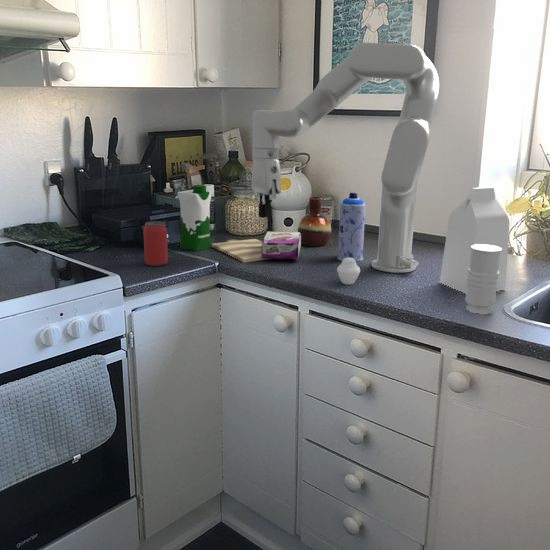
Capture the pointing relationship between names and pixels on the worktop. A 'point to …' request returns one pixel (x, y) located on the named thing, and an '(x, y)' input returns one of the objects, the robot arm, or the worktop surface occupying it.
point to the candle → (482, 278)
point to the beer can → (155, 243)
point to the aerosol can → (351, 228)
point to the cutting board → (242, 249)
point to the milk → (474, 237)
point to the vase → (314, 225)
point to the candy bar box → (281, 245)
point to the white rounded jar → (348, 271)
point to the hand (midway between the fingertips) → (264, 216)
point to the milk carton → (195, 218)
